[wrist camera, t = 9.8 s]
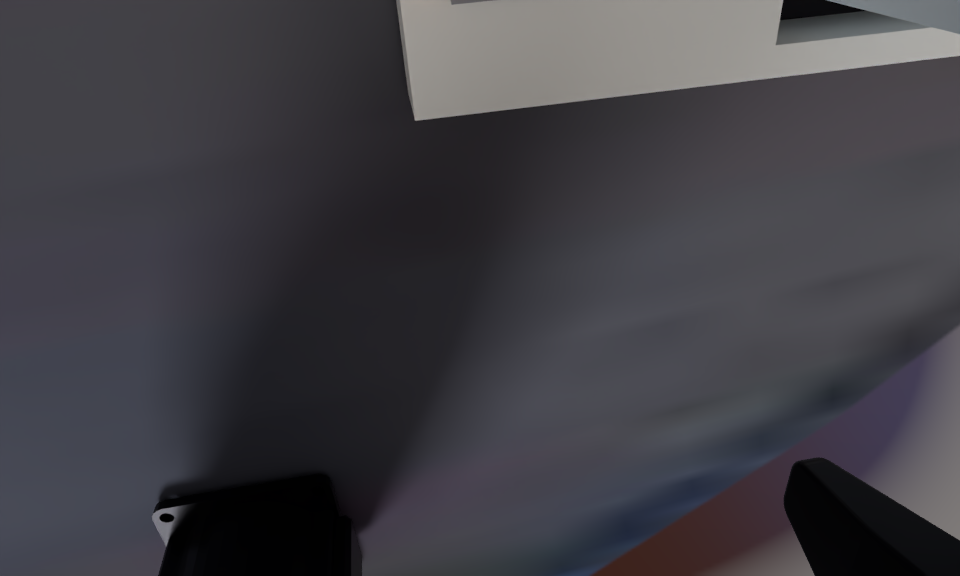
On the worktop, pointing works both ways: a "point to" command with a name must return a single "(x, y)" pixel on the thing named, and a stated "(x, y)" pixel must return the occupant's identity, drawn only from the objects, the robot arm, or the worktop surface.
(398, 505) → the worktop surface
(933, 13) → the box
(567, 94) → the power strip
